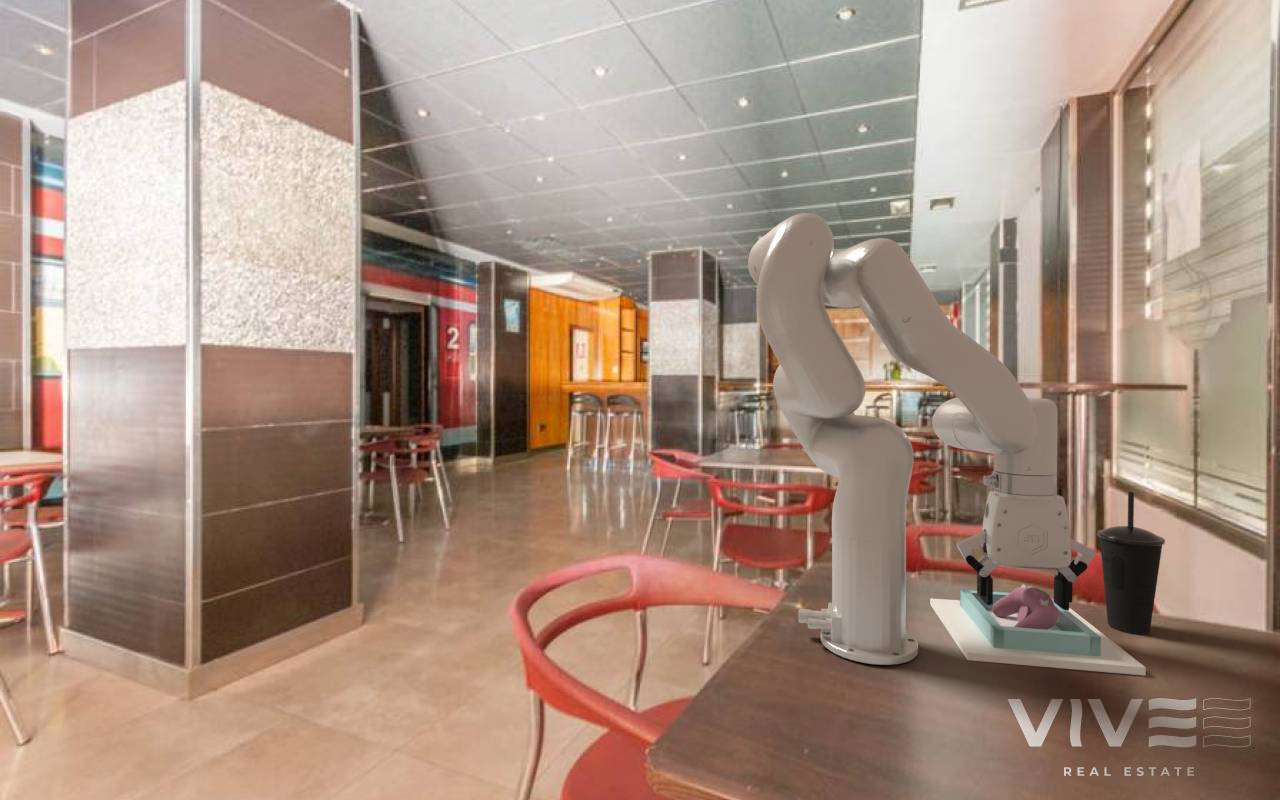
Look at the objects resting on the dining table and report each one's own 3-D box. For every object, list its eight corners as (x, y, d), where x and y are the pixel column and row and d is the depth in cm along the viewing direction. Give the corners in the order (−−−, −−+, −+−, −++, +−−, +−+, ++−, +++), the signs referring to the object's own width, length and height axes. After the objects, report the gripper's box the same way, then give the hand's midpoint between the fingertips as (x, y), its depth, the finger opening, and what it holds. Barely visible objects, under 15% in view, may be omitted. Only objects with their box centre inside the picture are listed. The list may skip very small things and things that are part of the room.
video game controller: (1045, 655, 81) (1072, 610, 80) (1011, 637, 82) (1038, 593, 81) (1017, 625, 91) (1041, 586, 90) (987, 610, 92) (1011, 570, 91)
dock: (967, 660, 79) (967, 633, 79) (930, 604, 98) (930, 583, 98) (1145, 675, 74) (1146, 647, 74) (1069, 614, 94) (1069, 591, 94)
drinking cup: (1173, 642, 83) (1176, 498, 83) (1107, 634, 86) (1109, 495, 86) (1149, 621, 91) (1151, 489, 90) (1088, 614, 93) (1090, 486, 93)
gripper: (965, 487, 84) (964, 609, 84) (1108, 491, 80) (1106, 619, 80) (950, 478, 91) (950, 591, 92) (1081, 482, 87) (1079, 599, 88)
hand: (1023, 604), depth 86 cm, fingers open, 9 cm apart
